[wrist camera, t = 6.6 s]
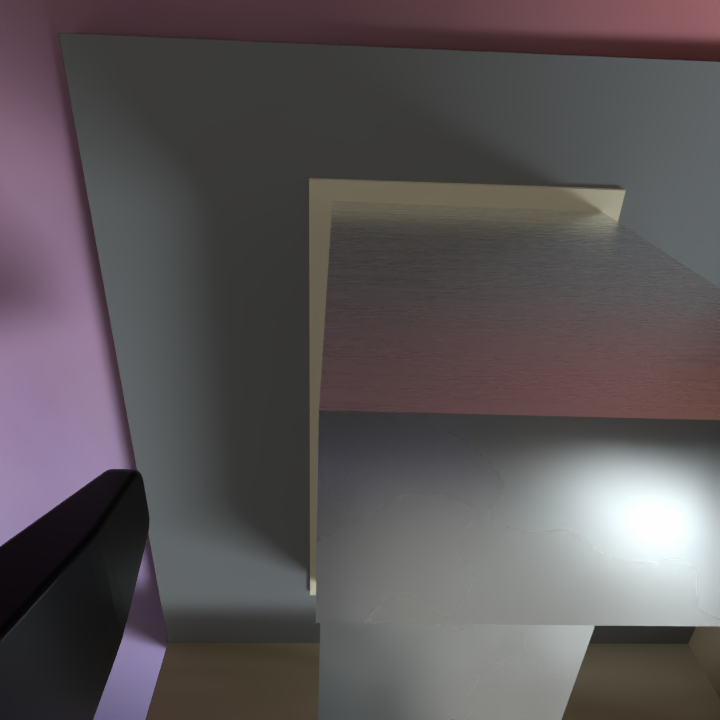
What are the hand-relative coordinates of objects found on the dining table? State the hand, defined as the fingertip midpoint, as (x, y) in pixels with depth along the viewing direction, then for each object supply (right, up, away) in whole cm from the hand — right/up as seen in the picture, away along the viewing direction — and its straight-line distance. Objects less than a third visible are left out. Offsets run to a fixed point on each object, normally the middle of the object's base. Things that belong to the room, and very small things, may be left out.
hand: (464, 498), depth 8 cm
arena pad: (+1, 0, +3) cm, 3 cm away
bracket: (0, +1, +2) cm, 2 cm away
